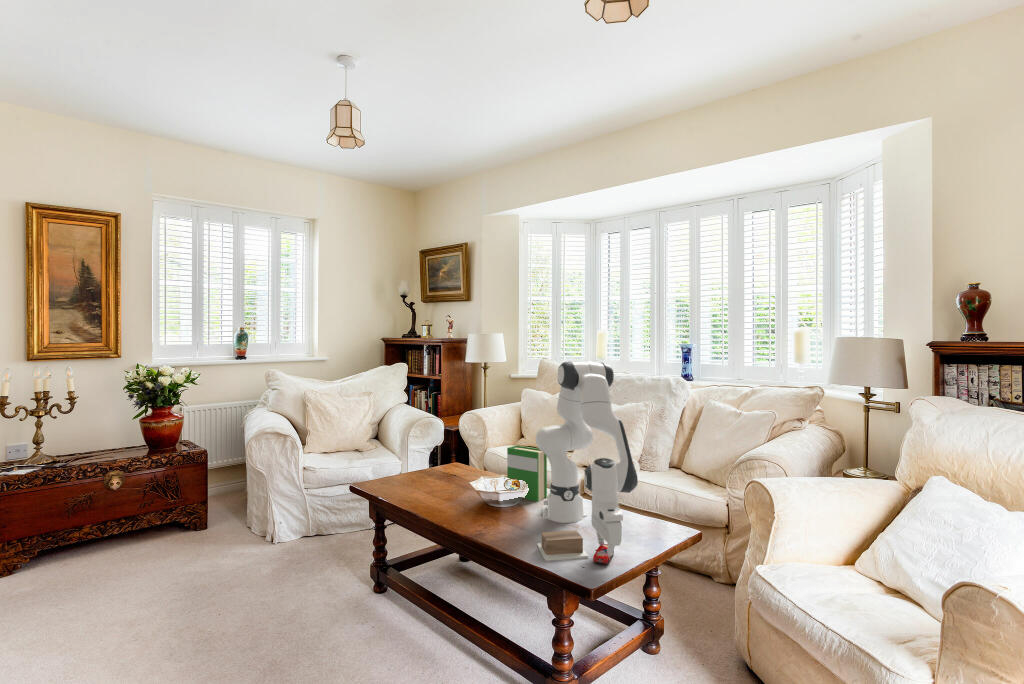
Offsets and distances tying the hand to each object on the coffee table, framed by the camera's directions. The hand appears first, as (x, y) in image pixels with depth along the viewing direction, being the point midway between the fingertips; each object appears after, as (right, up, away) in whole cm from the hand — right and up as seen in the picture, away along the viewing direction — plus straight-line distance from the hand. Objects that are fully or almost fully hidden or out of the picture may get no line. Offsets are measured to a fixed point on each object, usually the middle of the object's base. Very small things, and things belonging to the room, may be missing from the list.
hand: (605, 549), depth 180 cm
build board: (-14, -5, +9) cm, 17 cm away
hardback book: (-24, -5, +72) cm, 77 cm away
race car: (0, -6, 0) cm, 6 cm away
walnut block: (-14, -4, +9) cm, 17 cm away
